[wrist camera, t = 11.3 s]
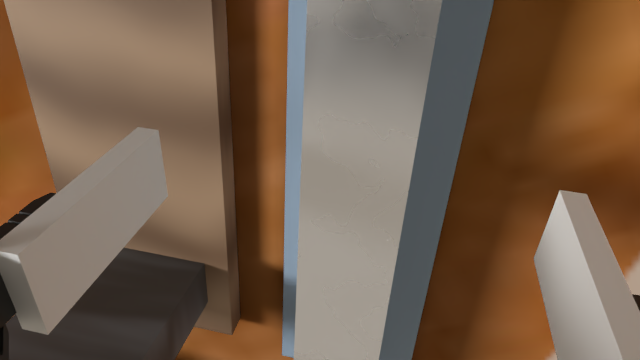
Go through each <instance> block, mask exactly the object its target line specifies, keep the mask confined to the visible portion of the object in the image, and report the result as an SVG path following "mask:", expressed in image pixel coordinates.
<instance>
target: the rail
mask: <svg viewBox="0 0 640 360" xmlns="http://www.w3.org/2000/svg"><path fill="white" fill-rule="evenodd" d="M441 5H442V0H307V19H306V45H305V72H304V99H303V126H302V153H301V179H300V206H299V233H298V260H297V286H296V313H295V340H294V360H379V355H380V350H381V344H382V338H383V333H384V327H385V321H386V316H387V310H388V304H389V299H390V293H391V287H392V282H393V276H394V270H395V265H396V259H397V253H398V248H399V242H400V236H401V231H402V225H403V220H404V214H405V208H406V203H407V197H408V191H409V186H410V180H411V174H412V169H413V163H414V157H415V152H416V146H417V140H418V135H419V129H420V123H421V118H422V112H423V106H424V101H425V95H426V89H427V84H428V78H429V72H430V67H431V61H432V55H433V50H434V44H435V38H436V33H437V27H438V22H439V16H440V10H441Z"/></svg>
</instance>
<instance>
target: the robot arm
mask: <svg viewBox="0 0 640 360" xmlns="http://www.w3.org/2000/svg"><path fill="white" fill-rule="evenodd" d="M167 197H168V192H167V185H166V178H165V171H164V165H163V158H162V151H161V144H160V137H159V131H158V130H155V129H148V128H141V127H137V128H136V129H135V130H134V131H132V132H131V133H130V134H129V135H128V136H126V137H125V138H124V139H123V140H121V141H120V142H119V143H118V144H117V145H115V146H114V147H113V148H112V149H110V150H109V151H108V152H107V153H106V154H104V155H103V156H102V157H101V158H99V159H98V160H97V161H96V162H95V163H93V164H92V165H91V166H90V167H88V168H87V169H86V170H85V171H84V172H82V173H81V174H80V175H79V176H77V177H76V178H75V179H74V180H73V181H71V182H70V183H69V184H68V185H66V186H65V187H64V188H63V189H62V190H60V191H59V192H58V193H57V194H56V193H49V194H47V195H45V196H42V197H40V198H38V199H36V200H34V201H32V202H31V203H30V204H28V205H27V206H26V207H25V208H23V209H22V210H21V211H19V214H16V215H14V216H13V217H12V218H11V219H9V220H8V223H4V224H3V225H2V226H0V360H9V332H8V329H7V326H6V323H7V322H8V321H9V320H10V319H11V318H12V317H13V316H14V315H15V314H16V315H17V318H18V320H19V322H20V325H21V327H22V329H24V330H29V331H33V332H38V333H42V334H46V335H49V333H50V332H51V331H52V330H53V329H54V328H55V326H56V325H57V324H58V323H59V322H60V321H61V319H62V318H63V317H64V316H65V315H66V314H67V313H68V311H69V310H70V309H71V308H72V307H73V306H74V304H75V303H76V302H77V301H78V300H79V299H80V297H81V296H82V295H83V294H84V293H85V292H86V291H87V289H88V288H89V287H90V286H91V285H92V284H93V282H94V281H95V280H96V279H97V278H98V277H99V275H100V274H101V273H102V272H103V271H104V270H105V269H106V267H107V266H108V265H109V264H110V263H111V262H112V260H113V259H114V258H115V257H116V256H117V255H118V253H119V252H120V251H121V250H122V249H123V248H124V247H125V245H126V244H127V243H128V242H129V241H130V240H131V238H132V237H133V236H134V235H135V234H136V233H137V231H138V230H139V229H140V228H141V227H142V226H143V225H144V223H145V222H146V221H147V220H148V219H149V218H150V216H151V215H152V214H153V213H154V212H155V211H156V209H157V208H158V207H159V206H160V205H161V204H162V203H163V201H164V200H165V199H166V198H167ZM534 262H535V267H536V271H537V275H538V279H539V283H540V288H541V292H542V296H543V300H544V304H545V309H546V313H547V317H548V321H549V326H550V330H551V334H552V338H553V342H554V347H555V351H556V355H557V359H558V360H640V296H639V295H633V294H632V293H631V291H630V289H629V287H628V284H627V282H626V280H625V278H624V276H623V273H622V271H621V269H620V267H619V264H618V262H617V260H616V258H615V256H614V253H613V251H612V249H611V247H610V245H609V242H608V240H607V238H606V236H605V234H604V231H603V229H602V227H601V225H600V223H599V220H598V218H597V216H596V214H595V212H594V209H593V207H592V205H591V203H590V200H589V198H588V196H587V194H583V193H576V192H570V191H563V190H560V191H559V193H558V196H557V198H556V201H555V204H554V206H553V209H552V212H551V214H550V217H549V220H548V222H547V225H546V227H545V230H544V233H543V235H542V238H541V241H540V243H539V246H538V248H537V251H536V254H535V256H534Z"/></svg>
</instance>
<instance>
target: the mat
mask: <svg viewBox="0 0 640 360" xmlns="http://www.w3.org/2000/svg"><path fill="white" fill-rule="evenodd" d="M493 3H494V0H442V5H441V10H440V16H439V22H438V27H437V33H436V38H435V44H434V50H433V55H432V61H431V67H430V72H429V78H428V84H427V89H426V95H425V101H424V106H423V112H422V118H421V123H420V129H419V135H418V140H417V146H416V152H415V157H414V163H413V169H412V174H411V180H410V186H409V191H408V197H407V203H406V208H405V214H404V220H403V225H402V231H401V236H400V242H399V248H398V253H397V259H396V265H395V270H394V276H393V282H392V287H391V293H390V299H389V304H388V310H387V316H386V321H385V327H384V333H383V338H382V344H381V350H380V355H379V360H411V359H412V355H413V350H414V346H415V342H416V337H417V333H418V329H419V324H420V320H421V316H422V311H423V307H424V303H425V298H426V294H427V290H428V285H429V281H430V277H431V272H432V268H433V264H434V259H435V255H436V251H437V246H438V242H439V238H440V233H441V229H442V224H443V220H444V216H445V211H446V207H447V203H448V198H449V194H450V190H451V185H452V181H453V177H454V172H455V168H456V164H457V159H458V155H459V151H460V146H461V142H462V138H463V133H464V129H465V125H466V120H467V116H468V112H469V107H470V103H471V99H472V94H473V90H474V86H475V81H476V77H477V73H478V68H479V64H480V59H481V55H482V51H483V46H484V42H485V38H486V33H487V29H488V25H489V20H490V16H491V12H492V7H493ZM306 19H307V0H289V10H288V65H287V120H286V175H285V230H284V285H283V340H282V355H284V356H288V357H293V358H294V340H295V313H296V286H297V260H298V233H299V206H300V179H301V153H302V126H303V99H304V72H305V45H306Z"/></svg>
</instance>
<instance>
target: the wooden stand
mask: <svg viewBox="0 0 640 360" xmlns="http://www.w3.org/2000/svg"><path fill="white" fill-rule="evenodd" d="M4 3H5V7H6V10H7V14H8V18H9V21H10V25H11V29H12V32H13V36H14V39H15V43H16V47H17V50H18V54H19V58H20V61H21V65H22V68H23V72H24V76H25V79H26V83H27V87H28V90H29V94H30V97H31V101H32V105H33V108H34V112H35V116H36V119H37V123H38V126H39V130H40V134H41V137H42V141H43V145H44V148H45V152H46V155H47V159H48V163H49V166H50V170H51V174H52V177H53V181H54V184H55V188H56V192H57V193H58V192H59V191H60V190H62V189H63V188H64V187H65V186H66V185H68V184H69V183H70V182H71V181H73V180H74V179H75V178H76V177H77V176H79V175H80V174H81V173H82V172H84V171H85V170H86V169H87V168H88V167H90V166H91V165H92V164H93V163H95V162H96V161H97V160H98V159H99V158H101V157H102V156H103V155H104V154H106V153H107V152H108V151H109V150H110V149H112V148H113V147H114V146H115V145H117V144H118V143H119V142H120V141H121V140H123V139H124V138H125V137H126V136H128V135H129V134H130V133H131V132H132V131H134V130H135V129H136V128H137V127H141V128H148V129H155V130H158V131H159V137H160V144H161V151H162V158H163V165H164V171H165V178H166V185H167V192H168V197H167V198H166V199H165V200H164V201H163V203H162V204H161V205H160V206H159V207H158V208H157V209H156V211H155V212H154V213H153V214H152V215H151V216H150V218H149V219H148V220H147V221H146V222H145V223H144V225H143V226H142V227H141V228H140V229H139V230H138V231H137V233H136V234H135V235H134V236H133V237H132V238H131V240H130V241H129V242H128V243H127V244H126V245H125V247H124V248H123V249H122V250H121V251H120V252H119V253H118V255H117V256H116V257H115V258H114V259H113V260H112V262H111V263H110V264H109V265H108V266H107V267H106V269H105V270H104V271H103V272H102V273H101V274H100V275H99V277H98V278H97V279H96V280H95V281H94V282H93V284H92V285H91V286H90V287H89V288H88V289H87V291H86V292H85V293H84V294H83V295H82V296H81V297H80V299H79V300H78V301H77V302H76V303H75V304H74V306H73V307H72V308H71V309H70V310H69V311H68V313H67V314H66V315H65V316H64V317H63V318H62V319H61V321H60V322H59V323H58V324H57V325H56V326H55V328H54V329H53V330H52V331H51V332H50V333H49V335H46V334H42V333H38V332H33V331H29V330H24V329H22V327H21V325H20V322H19V320H18V318H17V315H16V314H15V315H14V316H13V317H12V318H11V319H10V320H9V321H8V322H7V323H6V326H7V329H8V332H9V360H175V358H176V356H177V355H178V353H179V351H180V349H181V348H182V346H183V344H184V342H185V341H186V339H187V337H188V336H189V334H190V332H191V330H192V329H193V327H198V328H202V329H207V330H211V331H216V332H220V333H225V334H229V335H232V334H233V332H234V330H235V328H236V326H237V324H238V322H239V320H240V317H241V316H240V294H239V273H238V251H237V230H236V209H235V187H234V166H233V144H232V123H231V102H230V80H229V59H228V37H227V16H226V0H4Z"/></svg>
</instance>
